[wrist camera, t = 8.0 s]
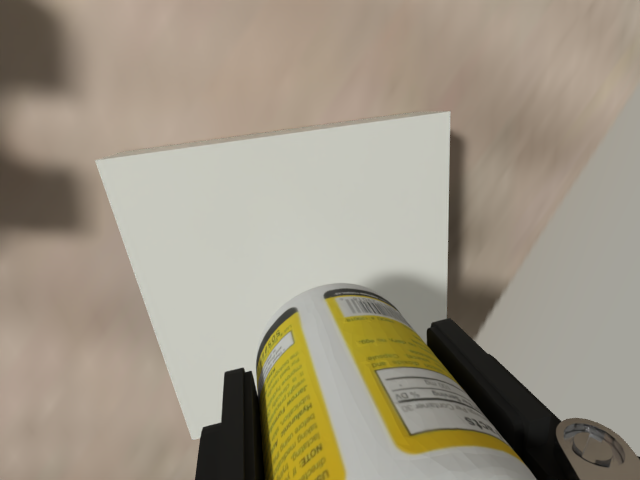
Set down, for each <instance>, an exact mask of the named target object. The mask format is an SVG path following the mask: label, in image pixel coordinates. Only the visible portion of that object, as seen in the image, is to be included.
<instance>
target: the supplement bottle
mask: <svg viewBox="0 0 640 480" xmlns="http://www.w3.org/2000/svg"><path fill="white" fill-rule="evenodd" d="M256 377H257V392H258V403H259V413H260V425H261V438H262V452H263V465H264V478H265V480H537V479H536V478H535V477H534V475H533V474H532V472H531V471H530V470H529V468H528V467H527V466H526V465H525V463H524V462H523V461H522V460H521V459H520V457H519V456H518V455H517V454H516V453H515V452H514V450H513V449H512V448H511V446H510V445H509V444H508V443H507V442H506V441H505V440H504V439H503V437H502V436H501V435H500V434H499V432H498V431H497V430H496V429H495V427H494V426H493V425H492V424H491V423H490V422H489V420H488V419H487V418H486V417H485V415H484V414H483V413H482V412H481V411H480V409H479V408H478V407H477V406H476V404H475V403H474V402H473V401H472V400H471V398H470V397H469V396H468V394H467V393H466V392H465V391H464V390H463V389H462V387H461V386H460V385H459V384H458V383H457V381H456V380H455V379H454V378H453V376H452V375H451V374H450V373H449V371H448V370H447V369H446V368H445V367H444V365H443V364H442V363H441V362H440V361H439V359H438V358H437V357H436V356H435V355H434V353H433V352H432V351H431V349H430V348H429V347H428V346H427V345H426V344H425V342H424V341H423V340H422V339H421V337H420V336H419V335H418V334H417V333H416V331H415V330H414V329H413V328H412V327H411V325H410V324H409V323H408V322H407V320H406V319H405V318H404V317H403V316H402V315H401V313H400V312H399V311H398V310H397V308H396V307H395V306H393V305H392V304H391V303H390V302H389V301H388V300H387V299H386V298H385V297H383V296H382V295H381V294H379V293H377V292H376V291H374V290H372V289H369V288H367V287H364V286H360V285H356V284H349V283H334V284H327V285H322V286H318V287H315V288H312V289H310V290H307V291H305V292H303V293H301V294H299V295H297V296H295V297H294V298H292V299H291V300H289V301H288V302H287V303H285V304H284V305H283V306H282V307H281V308H280V309H279V310H278V311H277V312H276V313H275V314H274V315H273V316H272V318H271V319H270V320H269V322H268V323H267V325H266V326H265V328H264V330H263V332H262V334H261V337H260V340H259V343H258V347H257V353H256Z"/></svg>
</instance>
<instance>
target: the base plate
mask: <svg viewBox="0 0 640 480" xmlns="http://www.w3.org/2000/svg"><path fill="white" fill-rule="evenodd" d="M449 156H450V111H443V112H413V113H405V114H398V115H390V116H383V117H376V118H368V119H361V120H354V121H346V122H339V123H332V124H324V125H317V126H310V127H302V128H295V129H288V130H280V131H273V132H265V133H258V134H251V135H243V136H236V137H229V138H221V139H214V140H207V141H199V142H192V143H185V144H177V145H170V146H163V147H155V148H148V149H140V150H133V151H126V152H120V153H117V154H114V155H111V156H107V157H104V158H101V159H98V160H95V162H96V164H97V167H98V170H99V173H100V176H101V179H102V182H103V185H104V187H105V190H106V193H107V196H108V199H109V202H110V205H111V208H112V210H113V213H114V216H115V219H116V222H117V225H118V228H119V231H120V234H121V236H122V239H123V242H124V245H125V248H126V251H127V254H128V257H129V259H130V262H131V265H132V268H133V271H134V274H135V277H136V280H137V282H138V285H139V288H140V291H141V294H142V297H143V300H144V303H145V305H146V308H147V311H148V314H149V317H150V320H151V323H152V326H153V328H154V331H155V334H156V337H157V340H158V343H159V346H160V349H161V351H162V354H163V357H164V360H165V363H166V366H167V369H168V372H169V374H170V377H171V380H172V383H173V386H174V389H175V392H176V395H177V398H178V400H179V403H180V406H181V409H182V412H183V415H184V418H185V421H186V423H187V426H188V429H189V432H190V435H191V438H192V440H194V439H198V438H200V437H201V431H202V429H203V427H205V426H209V425H213V424H217V423H221V416H222V401H223V385H224V373H225V372H226V371H230V370H235V369H239V368H244V369H245V372H248V371H252V374H253V378H254V382H255V386H256V391H257V377H256V353H257V347H258V343H259V340H260V337H261V334H262V332H263V330H264V328H265V326H266V325H267V323H268V322H269V320H270V319H271V318H272V316H273V315H274V314H275V313H276V312H277V311H278V310H279V309H280V308H281V307H282V306H283V305H284V304H285V303H287V302H288V301H289V300H291V299H292V298H294V297H295V296H297V295H299V294H301V293H303V292H305V291H307V290H310V289H312V288H315V287H318V286H322V285H327V284H334V283H349V284H356V285H360V286H364V287H367V288H369V289H372V290H374V291H376V292H377V293H379V294H381V295H382V296H383V297H385V298H386V299H387V300H388V301H389V302H390V303H391V304H392V305H393V306H395V307H396V308H397V310H398V311H399V312H400V313H401V315H402V316H403V317H404V318H405V319H406V320H407V322H408V323H409V324H410V325H411V327H412V328H413V329H414V330H415V331H416V333H417V334H418V335H419V336H420V337H421V339H422V340H423V341H424V342H425V344H426V345H427V328H430V327H431V323H432V322H435V321H439V320H444V319H447V273H448V214H449ZM257 395H258V392H257Z"/></svg>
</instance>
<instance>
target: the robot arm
mask: <svg viewBox="0 0 640 480" xmlns="http://www.w3.org/2000/svg"><path fill="white" fill-rule="evenodd" d="M427 346H428V347H429V348H430V349H431V351H432V352H433V353H434V355H435V356H436V357H437V358H438V359H439V361H440V362H441V363H442V364H443V365H444V367H445V368H446V369H447V370H448V371H449V373H450V374H451V375H452V376H453V378H454V379H455V380H456V381H457V383H458V384H459V385H460V386H461V387H462V389H463V390H464V391H465V392H466V393H467V394H468V396H469V397H470V398H471V400H472V401H473V402H474V403H475V404H476V406H477V407H478V408H479V409H480V411H481V412H482V413H483V414H484V415H485V417H486V418H487V419H488V420H489V422H490V423H491V424H492V425H493V426H494V427H495V429H496V430H497V431H498V432H499V434H500V435H501V436H502V437H503V439H504V440H505V441H506V442H507V443H508V444H509V445H510V446H511V448H512V449H513V450H514V452H515V453H516V454H517V455H518V456H519V457H520V459H521V460H522V461H523V462H524V463H525V465H526V466H527V467H528V468H529V470H530V471H531V472H532V474H533V475H534V477H535V478H536V479H537V480H640V457H638V456H636V454H635V453H634V452H633V450H632V449H631V448H630V447H629V445H628V444H627V443H626V442H625V441H624V440H623V439H622V438H621V437H620V436H619V435H617V434H616V433H615V432H613V431H612V430H611V429H609V428H607V427H605V426H603V425H601V424H599V423H597V422H594V421H590V420H587V419H580V418H572V419H566V420H564V421H562V422H561V421H560V420H559V419H558V418H557V417H556V416H555V415H554V414H553V413H552V412H551V411H550V410H549V409H548V408H546V406H545V405H544V404H542V403H541V402H540V401H539V400H538V399H537V398H536V397H535V396H534V395H533V394H532V393H531V392H530V391H529V390H528V389H527V388H526V387H525V386H524V385H522V384H521V383H520V382H519V381H518V380H517V379H516V378H515V377H514V376H513V375H512V374H511V373H510V372H509V371H508V370H506V369H505V367H503V366H502V365H501V364H500V363H499V362H498V361H497V360H496V359H495V358H494V357H493V356H491V355H490V354H487V353H486V352H485V351H484V350H483V349H482V348H481V347H480V346H479V345H478V344H477V343H476V342H475V341H473V340H472V339H471V338H470V337H469V336H468V335H467V334H466V333H465V332H464V331H463V330H462V329H461V328H460V327H459V326H458V325H457V324H456V323H455V322H454V321H453V320H451V319H449V318H448V319H444V320H439V321H435V322H432V323H431V327H430V328H427ZM195 480H265V478H264V465H263V452H262V438H261V425H260V413H259V403H258V395H257V391H256V386H255V382H254V378H253V374H252V371H248V372H245V369H244V368H239V369H235V370H230V371H226V372H225V373H224V385H223V401H222V416H221V423H217V424H213V425H209V426H205V427H203V429H202V431H201V437H200V445H199V453H198V461H197V469H196V477H195Z"/></svg>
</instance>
